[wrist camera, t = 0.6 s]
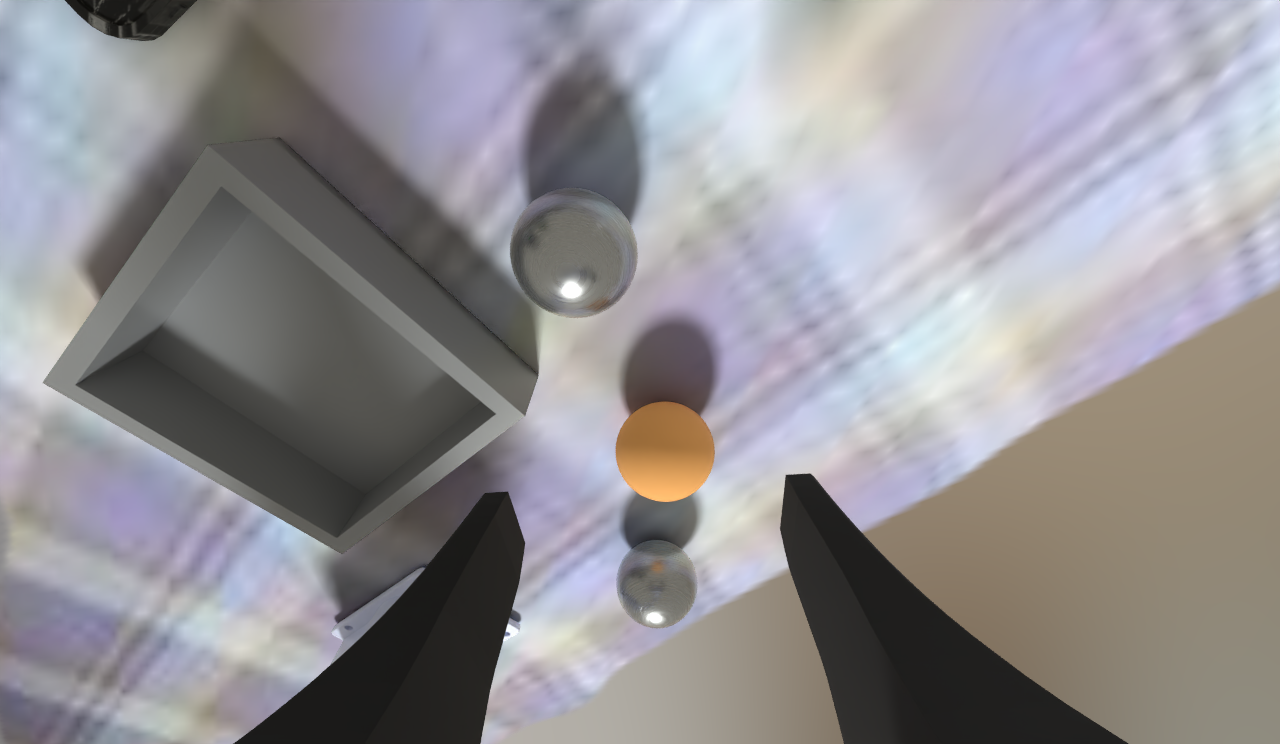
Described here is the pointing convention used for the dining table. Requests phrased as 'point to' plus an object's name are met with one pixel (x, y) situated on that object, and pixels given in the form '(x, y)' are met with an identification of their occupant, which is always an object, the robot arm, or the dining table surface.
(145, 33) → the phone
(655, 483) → the orange ball
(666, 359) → the dining table surface
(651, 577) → the steel ball
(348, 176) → the dining table surface
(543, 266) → the steel ball
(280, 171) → the bin
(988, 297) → the dining table surface
